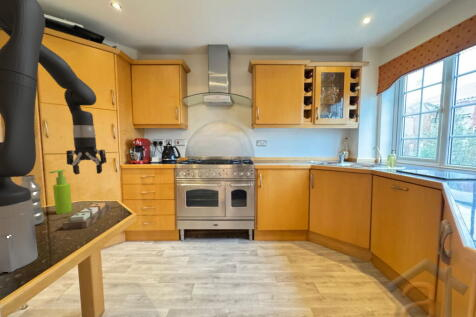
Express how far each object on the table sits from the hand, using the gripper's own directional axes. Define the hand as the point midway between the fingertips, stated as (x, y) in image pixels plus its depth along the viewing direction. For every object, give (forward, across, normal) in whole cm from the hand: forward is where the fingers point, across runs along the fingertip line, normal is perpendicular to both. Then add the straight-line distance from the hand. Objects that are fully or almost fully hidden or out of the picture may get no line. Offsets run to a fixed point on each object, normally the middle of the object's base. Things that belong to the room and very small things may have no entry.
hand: (88, 173), depth 88 cm
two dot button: (+19, 0, -10) cm, 21 cm away
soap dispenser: (+19, -16, +8) cm, 27 cm away
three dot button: (+19, +1, -3) cm, 19 cm away
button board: (+19, +1, -3) cm, 19 cm away
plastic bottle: (+19, -18, -6) cm, 27 cm away
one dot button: (+19, +1, +3) cm, 19 cm away
